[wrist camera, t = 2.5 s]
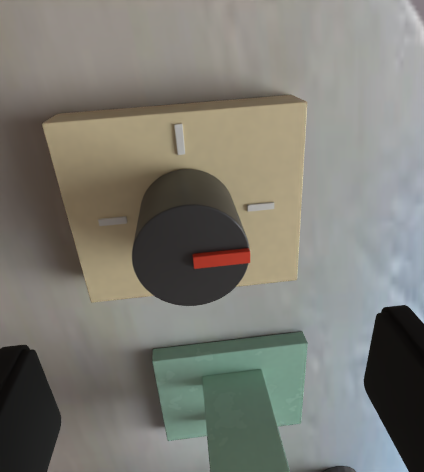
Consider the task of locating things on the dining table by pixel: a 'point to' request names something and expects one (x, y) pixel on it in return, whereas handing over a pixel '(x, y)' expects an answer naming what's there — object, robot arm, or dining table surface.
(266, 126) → the panel
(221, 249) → the knob
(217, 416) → the bracket
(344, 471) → the beverage cup
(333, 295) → the dining table surface
